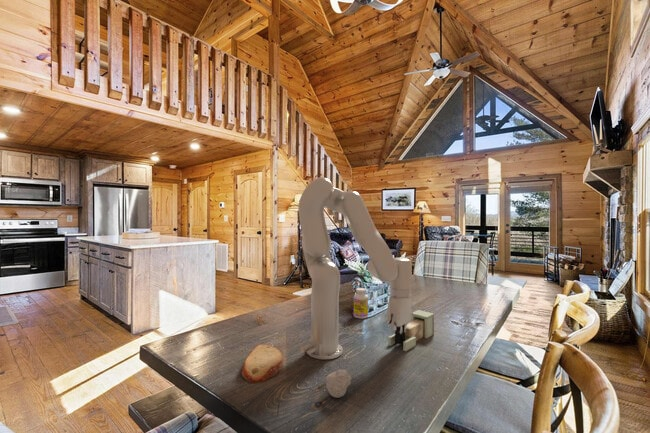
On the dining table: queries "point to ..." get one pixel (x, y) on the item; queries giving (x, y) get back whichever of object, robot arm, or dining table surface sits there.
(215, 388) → the dining table surface
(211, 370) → the dining table surface
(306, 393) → the dining table surface
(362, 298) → the supplement bottle
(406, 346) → the cradle
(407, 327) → the tan rectangular block
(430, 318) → the end cap
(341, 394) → the pale grey rounded lump
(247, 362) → the slice of bread
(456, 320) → the dining table surface
